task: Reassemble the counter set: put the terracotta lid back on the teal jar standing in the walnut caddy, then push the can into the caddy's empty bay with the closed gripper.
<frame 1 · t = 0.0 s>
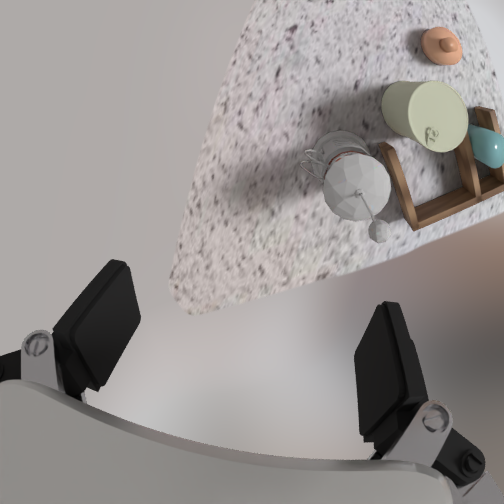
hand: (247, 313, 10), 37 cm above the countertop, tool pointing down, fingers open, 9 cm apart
can: (407, 108, 35), on the countertop
jar: (470, 139, 35), resting in caddy
caddy: (445, 161, 38), on the countertop
french press: (336, 158, 42), on the countertop
lid: (437, 47, 28), on the countertop
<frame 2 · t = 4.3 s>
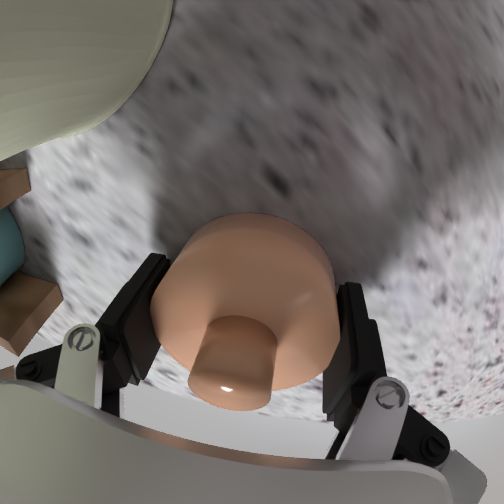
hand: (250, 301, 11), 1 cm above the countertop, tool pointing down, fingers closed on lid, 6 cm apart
can: (74, 31, 7), on the countertop
lid: (254, 285, 12), on the countertop, touching gripper
when the fingers open (10 cm above the countertop, at t = 9.2 s): lid stays where it is, resting on jar.
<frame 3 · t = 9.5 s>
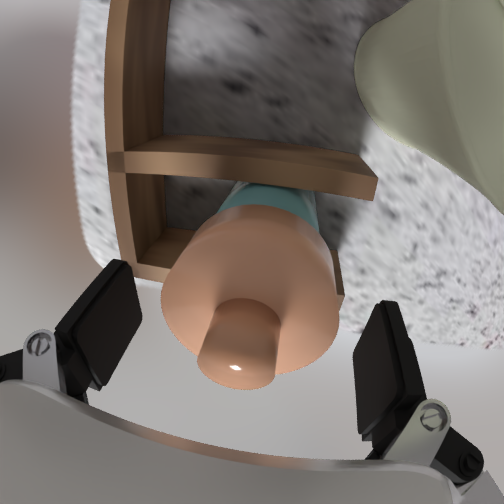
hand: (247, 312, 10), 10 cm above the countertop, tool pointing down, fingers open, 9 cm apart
can: (421, 81, 13), on the countertop
jar: (273, 202, 19), resting in caddy
caddy: (250, 101, 16), on the countertop
lid: (258, 274, 12), point 8 cm above the countertop, touching jar
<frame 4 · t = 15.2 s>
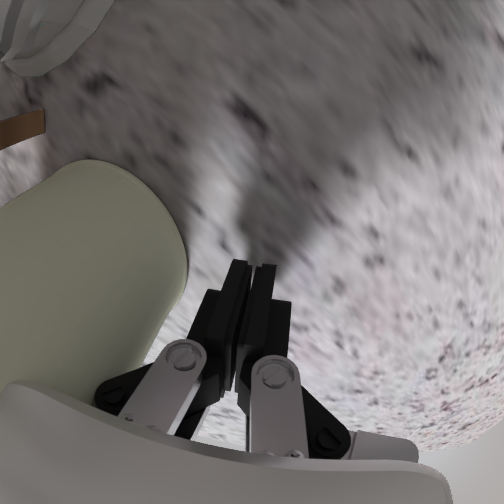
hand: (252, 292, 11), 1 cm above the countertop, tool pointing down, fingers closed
can: (106, 246, 13), on the countertop, touching gripper
caddy: (16, 269, 16), on the countertop
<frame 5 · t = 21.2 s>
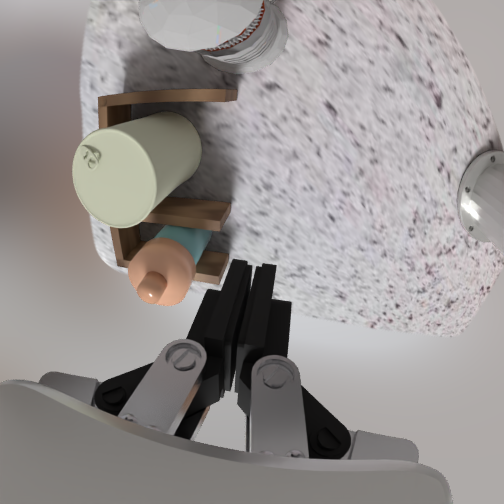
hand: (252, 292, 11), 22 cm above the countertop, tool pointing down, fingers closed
can: (165, 148, 31), resting in caddy
jar: (191, 228, 36), resting in caddy
caddy: (174, 178, 33), on the countertop
french press: (247, 28, 23), on the countertop
lid: (167, 264, 29), point 8 cm above the countertop, touching jar
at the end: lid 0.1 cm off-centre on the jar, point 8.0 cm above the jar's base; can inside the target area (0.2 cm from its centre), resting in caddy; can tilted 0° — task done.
